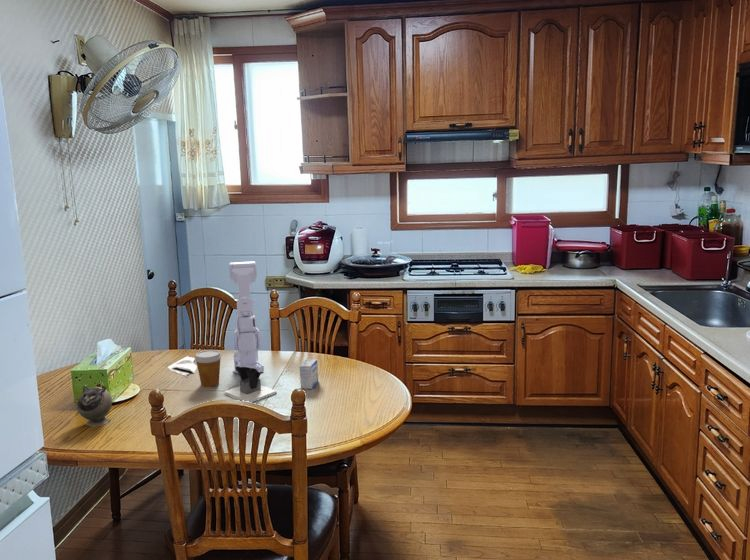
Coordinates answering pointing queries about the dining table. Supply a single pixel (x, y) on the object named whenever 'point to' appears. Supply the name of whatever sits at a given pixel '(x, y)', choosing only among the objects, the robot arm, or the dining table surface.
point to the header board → (252, 396)
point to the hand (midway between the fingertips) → (250, 386)
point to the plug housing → (248, 386)
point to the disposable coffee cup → (208, 367)
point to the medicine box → (309, 374)
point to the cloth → (184, 366)
